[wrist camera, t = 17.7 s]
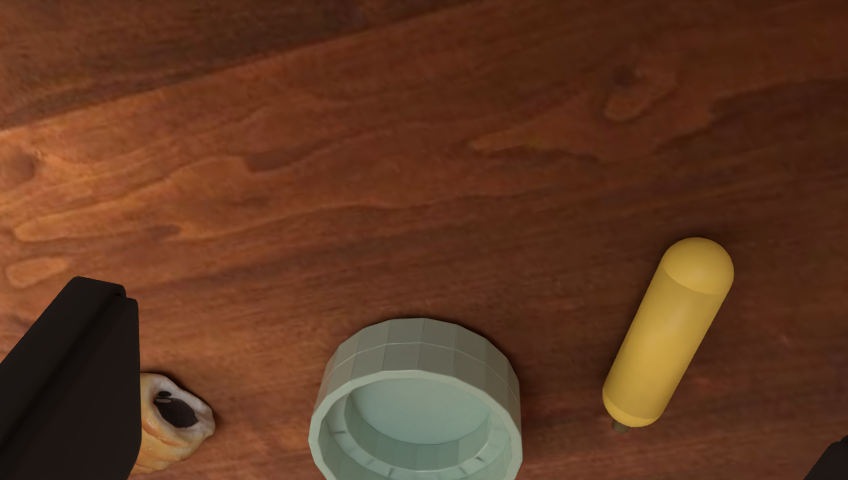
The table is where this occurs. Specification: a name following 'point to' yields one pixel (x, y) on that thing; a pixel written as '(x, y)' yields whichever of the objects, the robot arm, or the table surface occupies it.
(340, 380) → the bowl
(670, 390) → the yellow gas cartridge
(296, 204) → the table surface
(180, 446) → the pastry
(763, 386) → the table surface
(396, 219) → the table surface
